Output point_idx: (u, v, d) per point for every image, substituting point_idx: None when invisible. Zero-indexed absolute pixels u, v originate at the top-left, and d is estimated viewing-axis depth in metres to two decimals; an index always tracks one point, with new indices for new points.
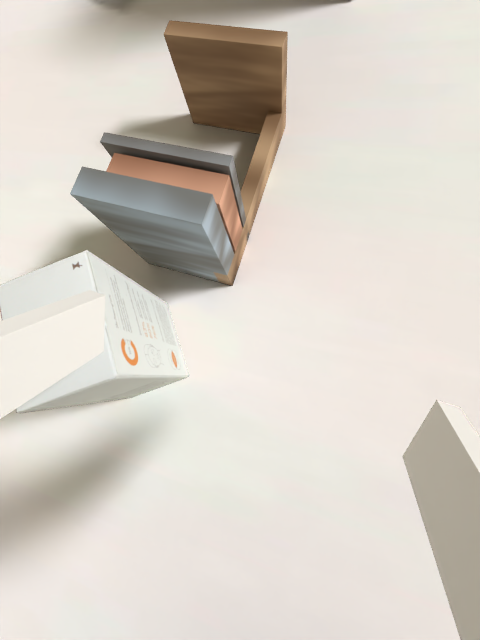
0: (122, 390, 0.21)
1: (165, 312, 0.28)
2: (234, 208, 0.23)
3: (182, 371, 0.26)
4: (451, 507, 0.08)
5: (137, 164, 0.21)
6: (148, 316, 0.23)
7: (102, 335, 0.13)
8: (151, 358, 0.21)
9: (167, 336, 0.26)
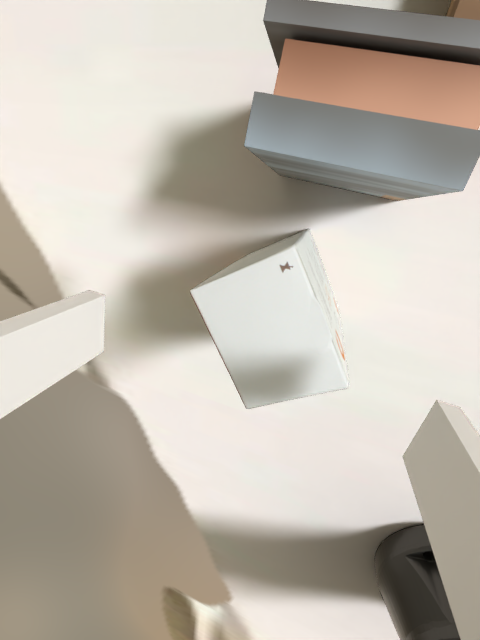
0: None
1: (316, 248, 0.24)
2: None
3: (339, 312, 0.25)
4: (451, 507, 0.08)
5: (329, 61, 0.13)
6: (321, 273, 0.20)
7: (102, 335, 0.13)
8: (339, 329, 0.19)
9: (327, 282, 0.23)
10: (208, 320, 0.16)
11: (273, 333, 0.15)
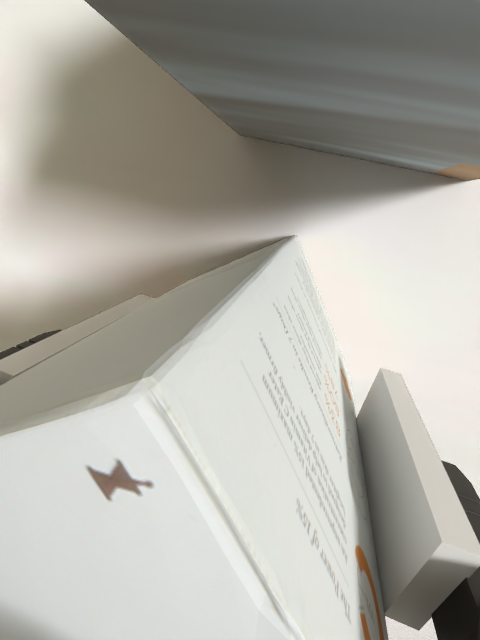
0: None
1: (307, 274, 0.12)
2: None
3: (350, 388, 0.14)
4: (379, 452, 0.09)
5: None
6: (315, 344, 0.09)
7: None
8: (359, 485, 0.08)
9: (329, 342, 0.12)
10: None
11: None
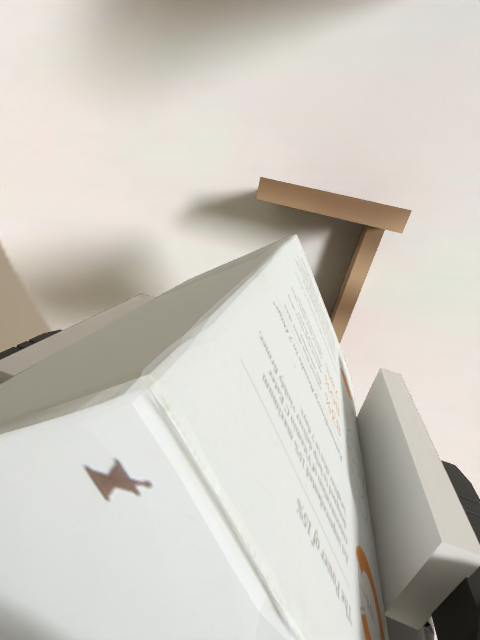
0: None
1: (307, 273, 0.12)
2: None
3: (351, 387, 0.14)
4: (379, 452, 0.09)
5: None
6: (315, 344, 0.09)
7: None
8: (359, 485, 0.08)
9: (330, 342, 0.12)
10: None
11: None
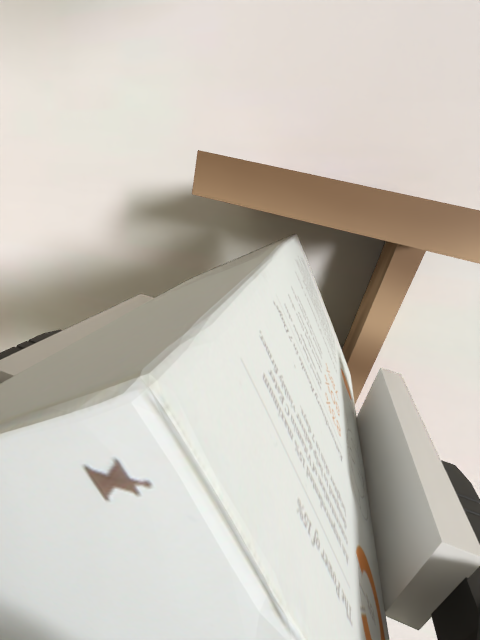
0: None
1: (308, 273, 0.12)
2: None
3: (351, 387, 0.14)
4: (379, 452, 0.09)
5: None
6: (316, 344, 0.09)
7: None
8: (359, 485, 0.08)
9: (330, 342, 0.12)
10: None
11: None
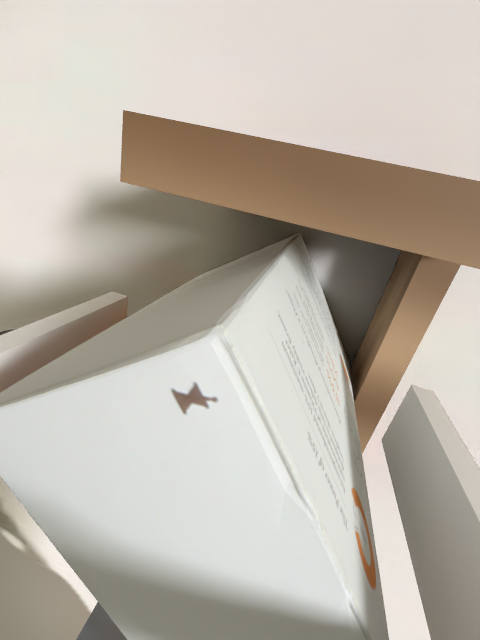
0: None
1: (310, 268, 0.14)
2: None
3: (349, 373, 0.15)
4: (418, 481, 0.08)
5: None
6: (318, 329, 0.10)
7: None
8: (355, 448, 0.09)
9: (330, 330, 0.13)
10: (18, 493, 0.06)
11: (179, 557, 0.05)
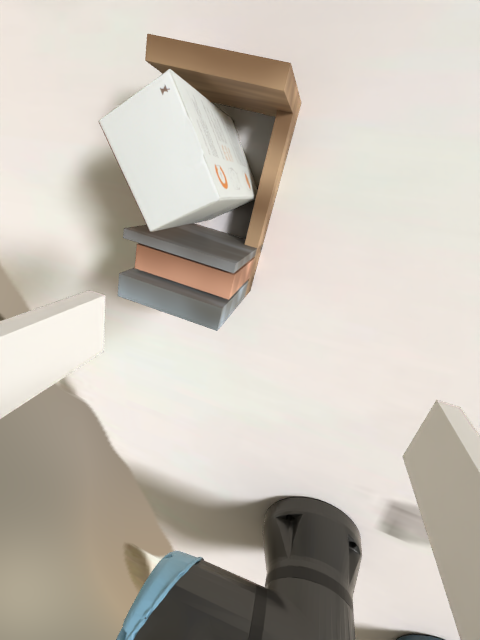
0: (212, 211, 0.26)
1: (232, 131, 0.28)
2: (243, 271, 0.27)
3: (254, 192, 0.29)
4: (451, 507, 0.08)
5: (158, 257, 0.25)
6: (223, 137, 0.24)
7: (102, 335, 0.13)
8: (234, 181, 0.24)
9: (239, 158, 0.27)
10: (114, 147, 0.20)
11: (161, 153, 0.20)
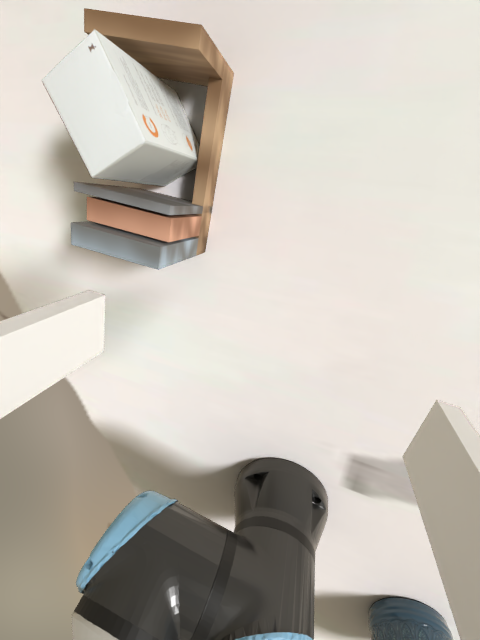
0: (154, 167, 0.29)
1: (174, 100, 0.31)
2: (185, 221, 0.30)
3: None
4: (451, 507, 0.08)
5: (106, 207, 0.28)
6: (159, 100, 0.28)
7: (102, 335, 0.13)
8: (168, 136, 0.27)
9: (180, 122, 0.31)
10: (56, 103, 0.24)
11: (94, 104, 0.23)
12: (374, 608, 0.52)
